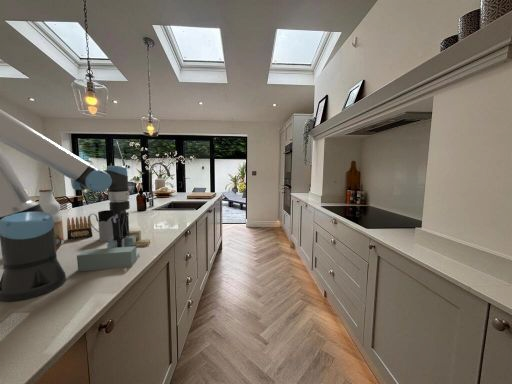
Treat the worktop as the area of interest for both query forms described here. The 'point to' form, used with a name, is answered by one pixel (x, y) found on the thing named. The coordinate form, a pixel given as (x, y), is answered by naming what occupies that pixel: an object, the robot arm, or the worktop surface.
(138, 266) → the worktop surface
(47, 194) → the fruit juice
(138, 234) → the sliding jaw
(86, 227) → the ammunition clip
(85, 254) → the block
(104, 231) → the grey mug
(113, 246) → the steel block
